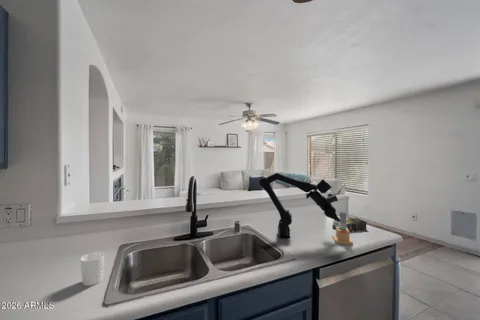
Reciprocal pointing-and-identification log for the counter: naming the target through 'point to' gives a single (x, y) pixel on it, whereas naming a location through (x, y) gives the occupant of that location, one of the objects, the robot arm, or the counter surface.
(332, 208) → the robot arm
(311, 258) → the counter surface
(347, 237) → the jack stand base
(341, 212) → the jack stand column
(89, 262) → the white cup
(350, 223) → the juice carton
